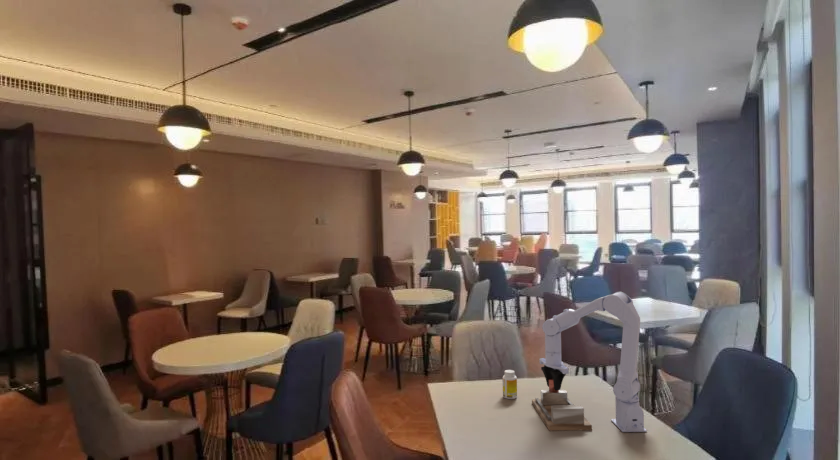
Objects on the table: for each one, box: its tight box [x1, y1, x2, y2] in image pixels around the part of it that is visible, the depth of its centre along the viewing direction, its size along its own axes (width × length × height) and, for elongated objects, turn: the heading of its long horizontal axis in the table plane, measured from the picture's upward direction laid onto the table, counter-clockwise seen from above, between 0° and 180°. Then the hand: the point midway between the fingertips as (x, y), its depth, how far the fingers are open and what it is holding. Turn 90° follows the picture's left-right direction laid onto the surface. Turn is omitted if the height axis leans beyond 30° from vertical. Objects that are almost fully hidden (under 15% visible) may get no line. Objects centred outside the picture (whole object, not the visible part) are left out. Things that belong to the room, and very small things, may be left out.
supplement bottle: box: [502, 369, 518, 400], centre depth 185 cm, size 6×6×10 cm
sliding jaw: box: [540, 378, 568, 405], centre depth 173 cm, size 4×9×9 cm, turn 90°
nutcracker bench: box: [531, 397, 593, 431], centre depth 166 cm, size 24×14×6 cm, turn 0°
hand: (553, 388), depth 173 cm, fingers closed on sliding jaw, 3 cm apart
